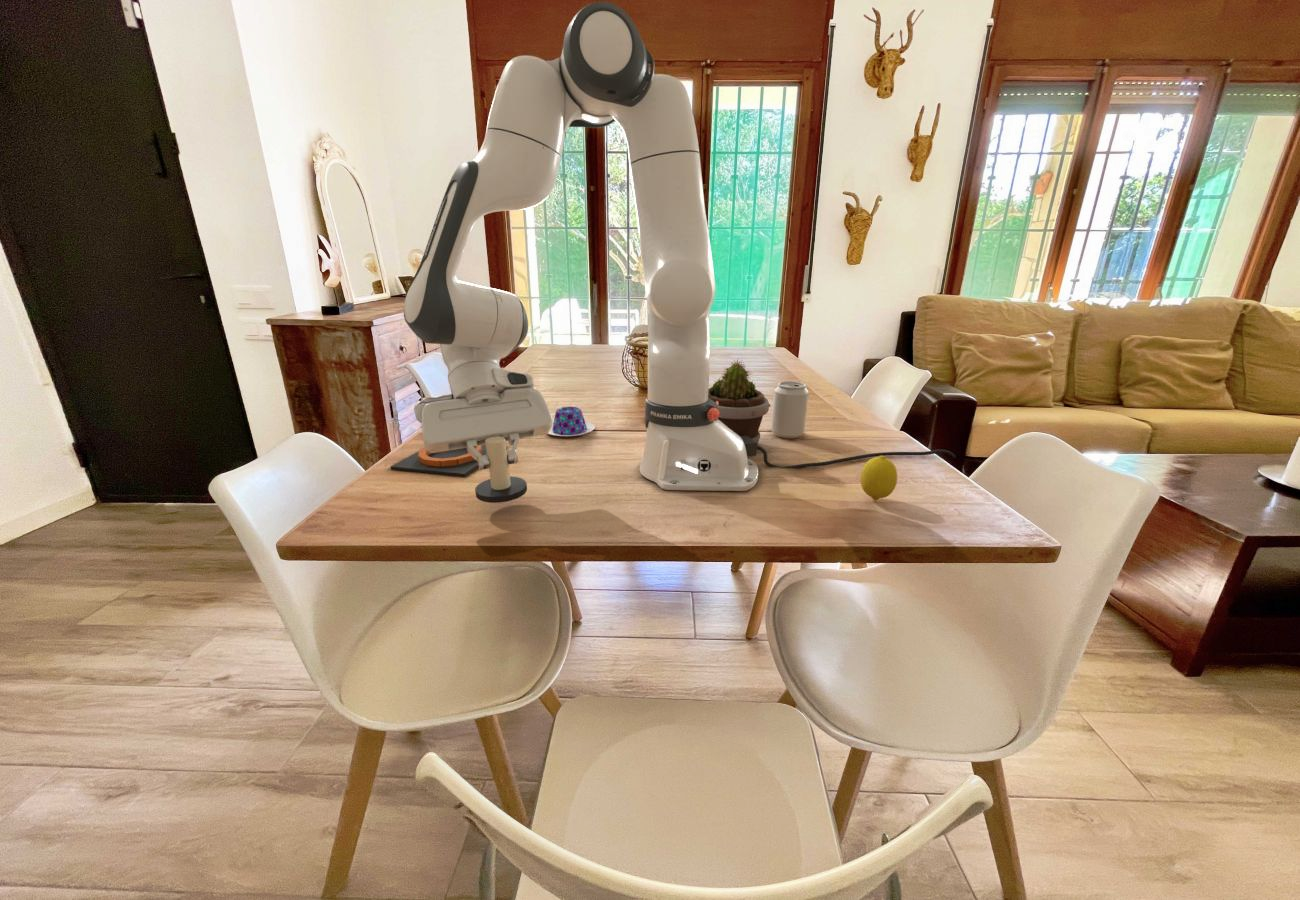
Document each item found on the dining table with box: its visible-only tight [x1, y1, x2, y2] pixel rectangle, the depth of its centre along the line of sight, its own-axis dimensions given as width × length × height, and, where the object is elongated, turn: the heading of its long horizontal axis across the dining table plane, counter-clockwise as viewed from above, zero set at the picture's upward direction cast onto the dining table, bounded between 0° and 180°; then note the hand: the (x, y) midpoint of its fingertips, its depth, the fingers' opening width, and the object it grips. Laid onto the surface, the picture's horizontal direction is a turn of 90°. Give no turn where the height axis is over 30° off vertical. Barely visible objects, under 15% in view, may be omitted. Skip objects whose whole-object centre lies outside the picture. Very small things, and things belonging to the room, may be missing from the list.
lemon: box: [860, 456, 898, 501], centre depth 86 cm, size 6×6×8 cm
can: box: [770, 380, 810, 439], centre depth 117 cm, size 8×8×12 cm
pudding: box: [547, 406, 596, 437], centre depth 121 cm, size 12×12×5 cm
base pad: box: [390, 444, 487, 478], centre depth 105 cm, size 16×16×2 cm
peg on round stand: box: [474, 436, 528, 504], centre depth 82 cm, size 8×8×9 cm
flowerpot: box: [708, 358, 771, 444], centre depth 109 cm, size 14×15×20 cm
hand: (499, 465), depth 81 cm, fingers closed on peg on round stand, 3 cm apart
